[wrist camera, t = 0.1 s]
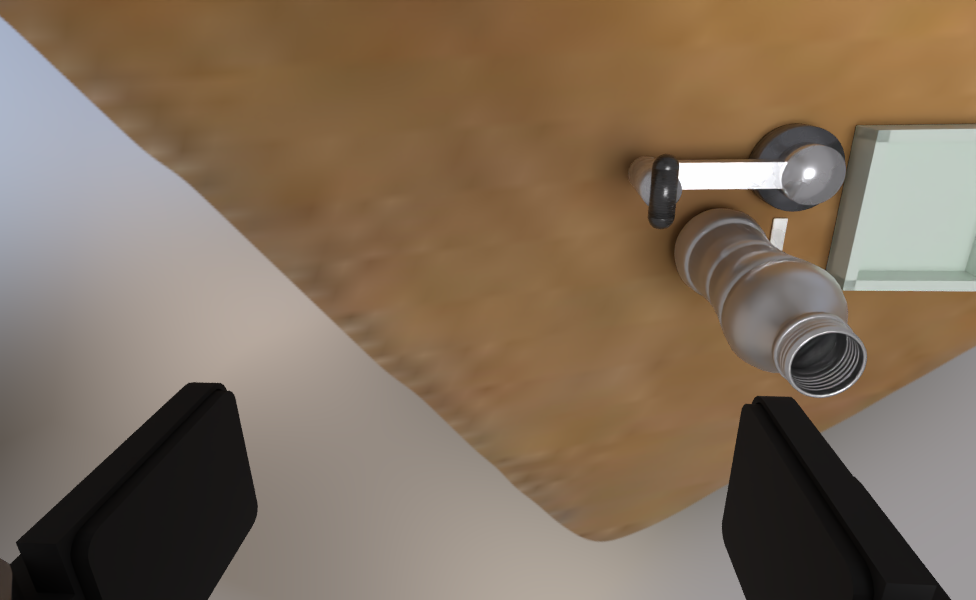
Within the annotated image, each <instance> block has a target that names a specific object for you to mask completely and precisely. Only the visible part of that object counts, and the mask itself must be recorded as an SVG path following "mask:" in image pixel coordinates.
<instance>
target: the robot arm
mask: <svg viewBox="0 0 976 600" xmlns="http://www.w3.org/2000/svg"><path fill="white" fill-rule="evenodd" d="M257 508H258V505H257V499H256V495H255V489H254V485H253V480H252V475H251V471H250V466H249V461H248V457H247V452H246V447H245V442H244V437H243V432H242V428H241V423H240V418H239V414H238V409H237V404H236V399H235V396H234V394H233V393H232V392H231V391H227V390H226V388H225V386H224V385H222V384H221V383H196V382H193V383H188V384H187V385H185V386H184V387H183V388H182V389H181V390H180V391H179V392H178V393H176V394H175V395H174V396H173V397H172V398H171V399H170V400H169V401H168V402H167V403H166V404H164V405H163V406H162V408H160V409H159V410H158V411H157V412H156V413H155V414H154V415H153V416H152V417H151V418H149V419H148V420H147V421H146V422H145V423H144V424H143V425H142V426H141V427H140V428H139V429H138V430H136V432H134V433H133V434H132V435H131V436H130V437H129V438H128V439H127V440H126V441H125V442H124V443H122V444H121V445H120V446H119V447H118V448H117V449H116V450H115V451H114V452H113V453H112V454H111V455H109V456H108V457H107V458H106V459H105V460H104V461H103V462H102V463H101V464H100V465H99V466H98V467H97V468H95V470H93V471H92V472H91V473H90V474H89V475H88V476H87V477H86V478H85V479H84V480H83V481H81V482H80V483H79V484H78V485H77V486H76V487H75V488H74V489H73V490H72V491H71V492H70V493H68V494H67V495H66V496H65V497H64V498H63V499H62V500H61V501H60V502H59V503H58V504H57V505H56V506H54V507H53V508H52V509H51V510H50V511H49V512H48V513H47V514H46V515H45V516H44V517H43V518H42V519H40V520H39V521H38V522H37V523H36V524H35V525H34V526H33V527H32V528H31V529H30V530H29V531H27V533H25V534H24V535H23V536H22V537H21V538H20V539H19V540H18V541H17V542H16V544H17V546H18V549H19V551H20V553H21V554H20V555H19V556H18V557H17V558H16V559H15V560H14V561H13V562H12V563H11V564H9V563H7V562H6V561H4V560H3V559H1V558H0V600H208V598H209V597H210V595H211V593H212V592H213V590H214V588H215V587H216V585H217V583H218V582H219V580H220V579H221V577H222V575H223V573H224V572H225V570H226V569H227V567H228V565H229V564H230V562H231V560H232V559H233V557H234V555H235V554H236V552H237V551H238V549H239V547H240V545H241V544H242V542H243V540H244V539H245V537H246V536H247V534H248V532H249V531H250V529H251V528H252V526H253V524H254V522H255V519H256V516H257ZM722 534H723V540H724V544H725V547H726V549H727V551H728V554H729V557H730V559H731V562H732V564H733V567H734V569H735V572H736V575H737V577H738V580H739V582H740V585H741V587H742V590H743V593H744V595H745V598H746V600H951V599H950V598H949V596H948V595H947V594H946V592H945V591H944V590H943V589H942V587H941V586H940V585H939V583H938V582H937V581H936V580H935V578H934V577H933V576H932V574H931V573H930V572H929V570H928V569H927V568H926V567H925V565H924V564H923V563H922V561H921V560H920V559H919V558H918V556H917V555H916V554H915V552H914V551H913V550H912V549H911V547H910V546H909V545H908V544H907V542H906V541H905V539H904V538H903V537H902V535H901V534H900V533H899V532H898V530H897V529H896V528H895V526H894V525H893V524H892V523H891V521H890V520H889V519H888V517H887V516H886V515H885V513H884V512H883V511H882V510H881V508H880V507H879V506H878V504H877V503H876V502H875V500H874V499H873V498H872V497H871V495H870V494H869V493H868V491H867V490H866V489H865V488H864V486H863V485H862V484H861V483H860V482H859V481H858V480H857V479H856V478H855V477H853V476H852V474H851V473H850V471H849V470H848V469H847V468H846V466H845V465H844V464H843V462H842V461H841V460H840V458H839V457H838V456H837V454H836V453H835V452H834V450H833V449H832V448H831V447H830V445H829V444H828V443H827V441H826V440H825V439H824V437H823V436H822V435H821V434H820V432H819V431H818V430H817V428H816V427H815V426H814V424H813V423H812V422H811V420H810V419H809V418H808V417H807V415H806V414H805V413H804V411H803V410H802V409H801V407H800V406H799V405H798V403H797V402H796V401H795V400H794V399H793V398H792V397H775V396H757V397H755V398H754V400H753V402H752V404H745V405H744V406H743V408H742V411H741V416H740V422H739V428H738V434H737V439H736V445H735V451H734V457H733V463H732V468H731V474H730V480H729V486H728V492H727V498H726V503H725V509H724V515H723V520H722Z"/></svg>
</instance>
